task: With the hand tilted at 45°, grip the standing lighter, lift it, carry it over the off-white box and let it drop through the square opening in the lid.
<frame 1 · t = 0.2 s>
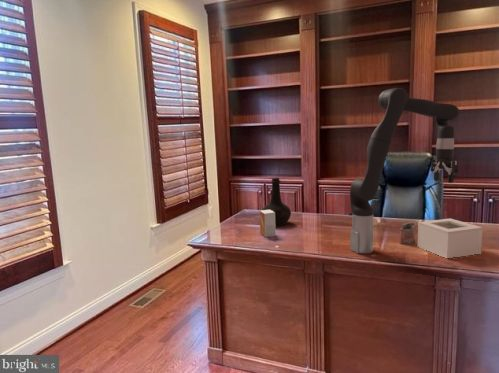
hand: (443, 181, 184), 29 cm above the table, tool pointing down, fingers open, 8 cm apart
glass bottle: (276, 224, 230), on the table
lighter: (407, 243, 185), on the table
small box: (267, 235, 208), on the table
slot box: (448, 250, 172), on the table
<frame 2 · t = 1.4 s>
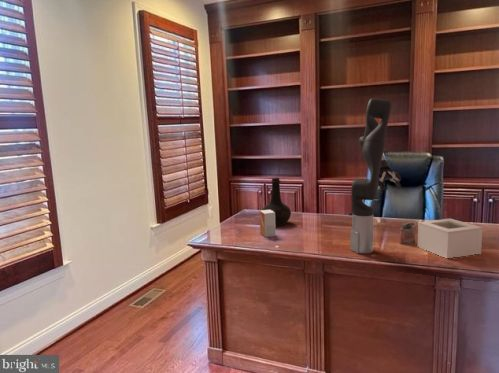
hand: (392, 188, 194), 25 cm above the table, tool tilted 45°, fingers open, 8 cm apart
nothing on the table moved.
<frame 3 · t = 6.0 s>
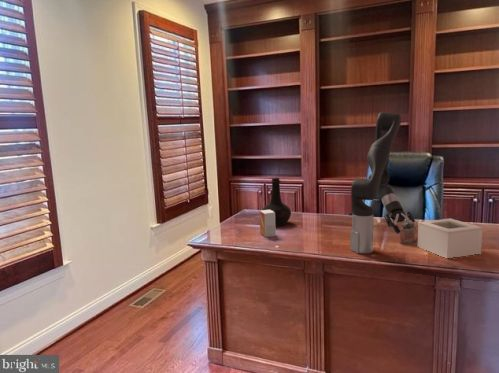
hand: (406, 232, 185), 5 cm above the table, tool tilted 45°, fingers closed on lighter, 8 cm apart
lighter: (407, 243, 185), on the table, touching gripper
everything else where it was.
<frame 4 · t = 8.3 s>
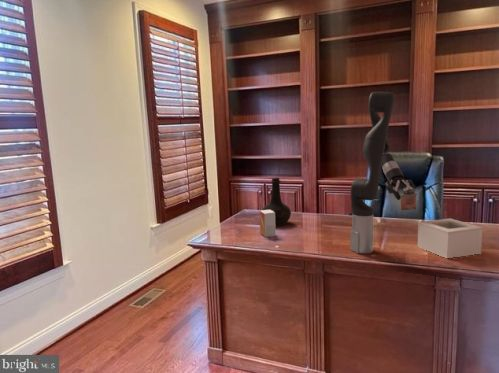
hand: (407, 198, 183), 22 cm above the table, tool tilted 45°, fingers closed on lighter, 8 cm apart
lighter: (408, 209, 183), point 16 cm above the table, touching gripper
everything else where it was.
when the fingers open (18 cm above the table, at t = 11.1 s): lighter drops 11 cm, resting on slot box.
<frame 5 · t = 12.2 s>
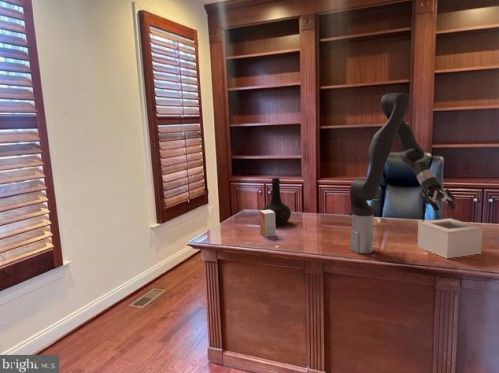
hand: (445, 209, 172), 18 cm above the table, tool tilted 45°, fingers open, 8 cm apart
lighter: (448, 246, 172), point 2 cm above the table, touching slot box
everything else where it was.
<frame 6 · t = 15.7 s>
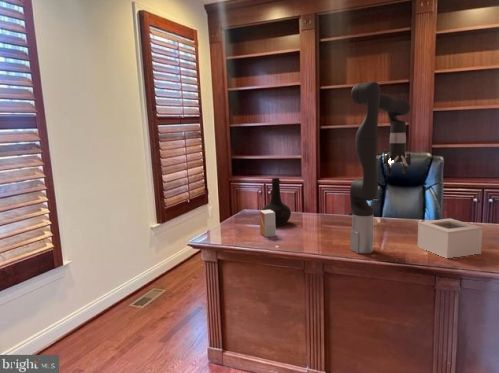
hand: (396, 174, 192), 32 cm above the table, tool pointing down, fingers open, 8 cm apart
nothing on the table moved.
at the end: lighter inside the target area on the slot box (0.2 cm from its centre), point 1.7 cm above the slot box's base; the gripper is holding nothing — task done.
